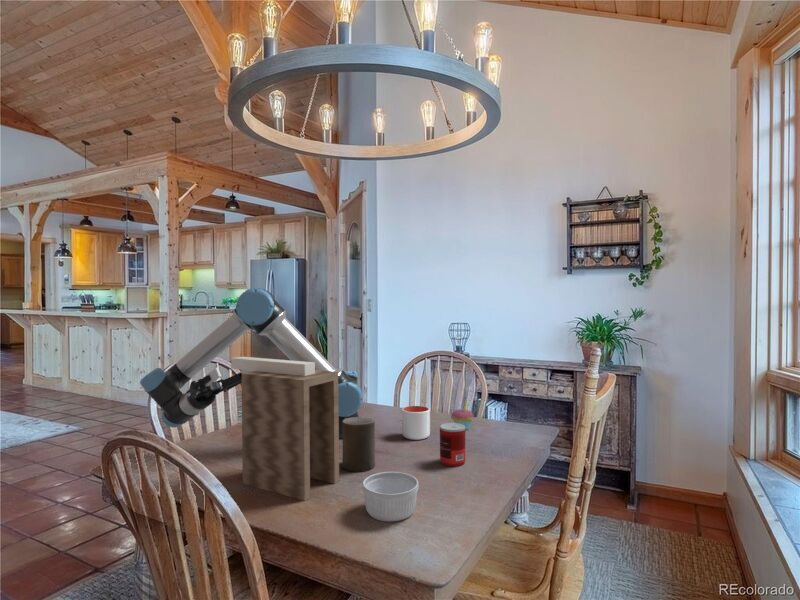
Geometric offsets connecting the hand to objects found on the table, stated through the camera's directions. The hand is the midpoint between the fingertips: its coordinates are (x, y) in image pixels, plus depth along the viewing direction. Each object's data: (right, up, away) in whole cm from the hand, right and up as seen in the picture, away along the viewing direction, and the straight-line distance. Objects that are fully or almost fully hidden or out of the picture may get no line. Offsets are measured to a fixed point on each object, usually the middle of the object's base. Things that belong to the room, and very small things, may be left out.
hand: (238, 368), depth 136 cm
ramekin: (+45, -30, -27) cm, 60 cm away
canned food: (+63, -29, +5) cm, 70 cm away
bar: (+11, 0, -6) cm, 13 cm away
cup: (+53, -29, +32) cm, 69 cm away
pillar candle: (+35, -30, +3) cm, 46 cm away
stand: (+18, -30, -9) cm, 36 cm away
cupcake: (+71, -29, +42) cm, 88 cm away
